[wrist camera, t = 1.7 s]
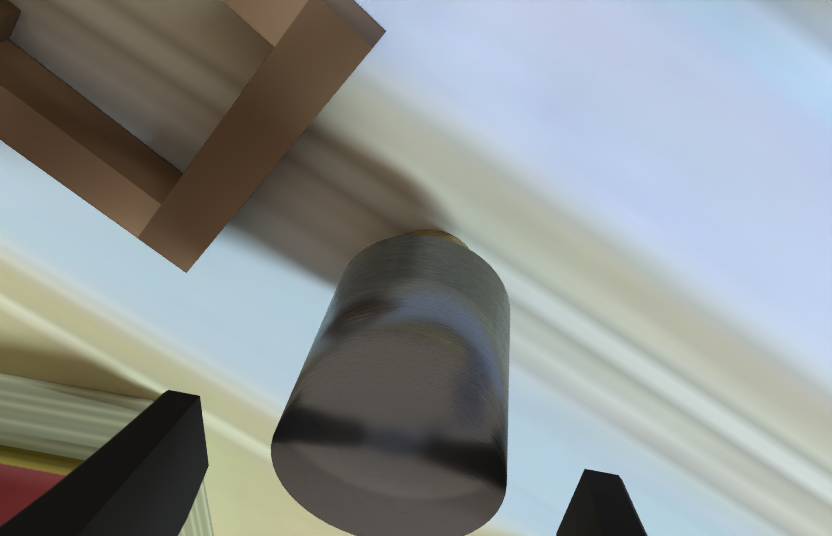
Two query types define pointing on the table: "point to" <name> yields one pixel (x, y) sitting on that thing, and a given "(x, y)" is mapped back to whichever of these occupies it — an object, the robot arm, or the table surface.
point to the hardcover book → (63, 440)
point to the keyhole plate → (222, 153)
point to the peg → (403, 395)
